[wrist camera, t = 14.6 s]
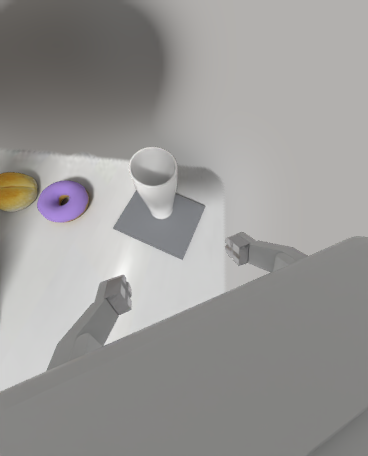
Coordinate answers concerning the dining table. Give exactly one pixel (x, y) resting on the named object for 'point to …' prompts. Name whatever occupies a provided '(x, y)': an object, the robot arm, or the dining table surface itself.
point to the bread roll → (16, 191)
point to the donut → (53, 197)
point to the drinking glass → (155, 179)
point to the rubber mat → (161, 224)
